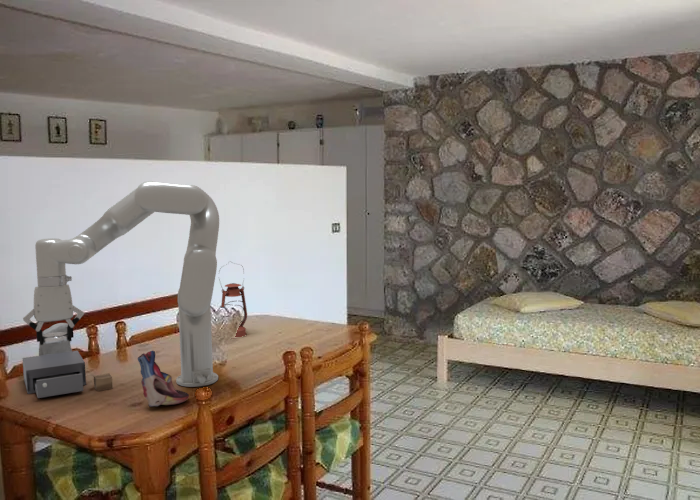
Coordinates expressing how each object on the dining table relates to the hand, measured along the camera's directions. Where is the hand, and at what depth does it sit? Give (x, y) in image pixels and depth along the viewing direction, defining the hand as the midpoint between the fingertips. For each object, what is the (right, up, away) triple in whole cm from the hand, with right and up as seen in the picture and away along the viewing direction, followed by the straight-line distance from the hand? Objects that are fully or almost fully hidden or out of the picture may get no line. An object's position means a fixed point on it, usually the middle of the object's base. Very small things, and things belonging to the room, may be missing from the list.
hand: (55, 341), depth 187 cm
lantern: (+39, -8, +69) cm, 80 cm away
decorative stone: (-13, -13, +28) cm, 33 cm away
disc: (0, 0, 0) cm, 0 cm away
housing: (-6, -14, +12) cm, 19 cm away
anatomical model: (+35, -16, -9) cm, 39 cm away
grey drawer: (-1, -14, +4) cm, 15 cm away
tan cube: (+12, -15, +6) cm, 20 cm away
